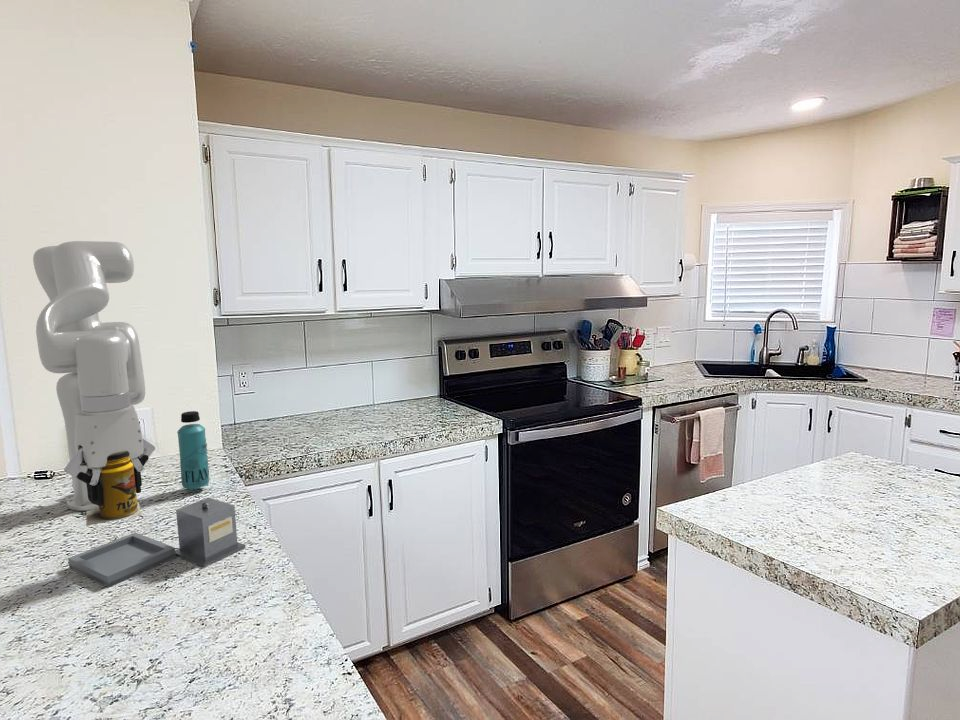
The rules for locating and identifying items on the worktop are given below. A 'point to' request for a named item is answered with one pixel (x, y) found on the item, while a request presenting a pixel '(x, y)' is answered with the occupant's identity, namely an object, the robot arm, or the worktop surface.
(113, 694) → the worktop surface
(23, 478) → the worktop surface
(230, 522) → the block
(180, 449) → the beverage bottle
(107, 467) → the condiment
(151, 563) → the tray
